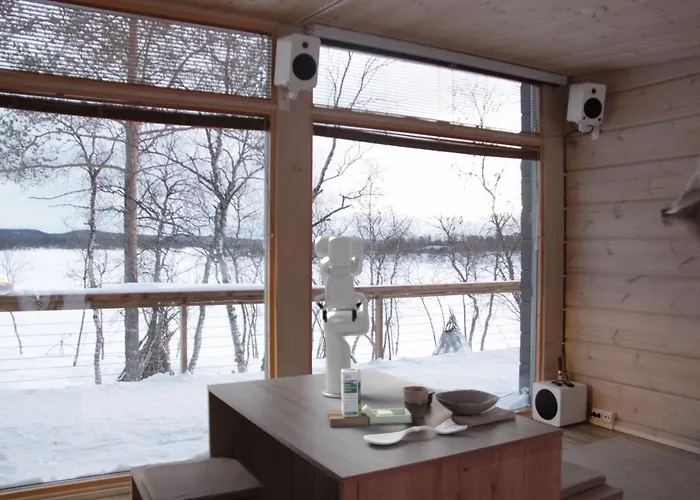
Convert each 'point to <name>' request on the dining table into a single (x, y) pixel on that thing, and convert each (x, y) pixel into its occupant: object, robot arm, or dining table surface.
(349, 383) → the syrup box
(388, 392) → the dining table surface
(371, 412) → the tile
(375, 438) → the spoon
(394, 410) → the tray
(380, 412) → the tile
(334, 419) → the board
